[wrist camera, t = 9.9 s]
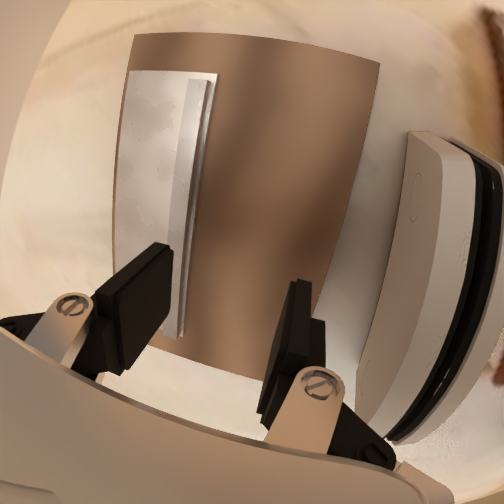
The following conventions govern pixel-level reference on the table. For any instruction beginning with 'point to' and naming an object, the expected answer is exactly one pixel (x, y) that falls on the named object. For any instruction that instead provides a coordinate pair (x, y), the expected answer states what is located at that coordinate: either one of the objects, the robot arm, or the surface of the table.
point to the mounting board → (261, 182)
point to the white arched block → (435, 291)
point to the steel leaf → (163, 172)
